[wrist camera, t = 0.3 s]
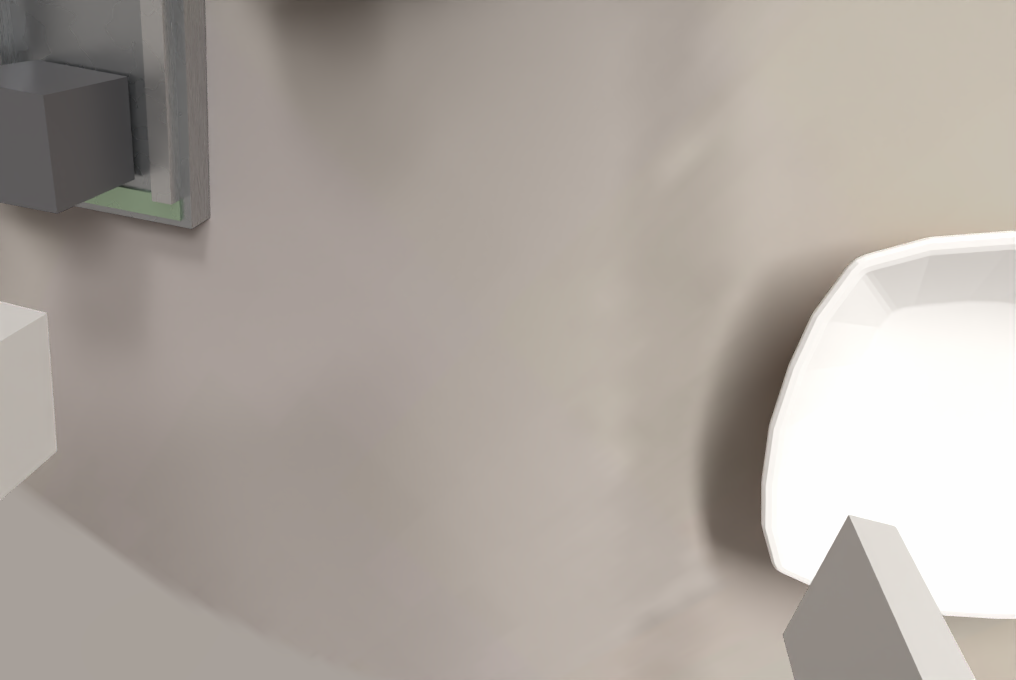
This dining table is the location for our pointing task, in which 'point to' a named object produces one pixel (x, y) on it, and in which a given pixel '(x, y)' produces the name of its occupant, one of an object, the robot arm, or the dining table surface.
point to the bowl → (906, 419)
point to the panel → (134, 90)
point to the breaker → (62, 134)
